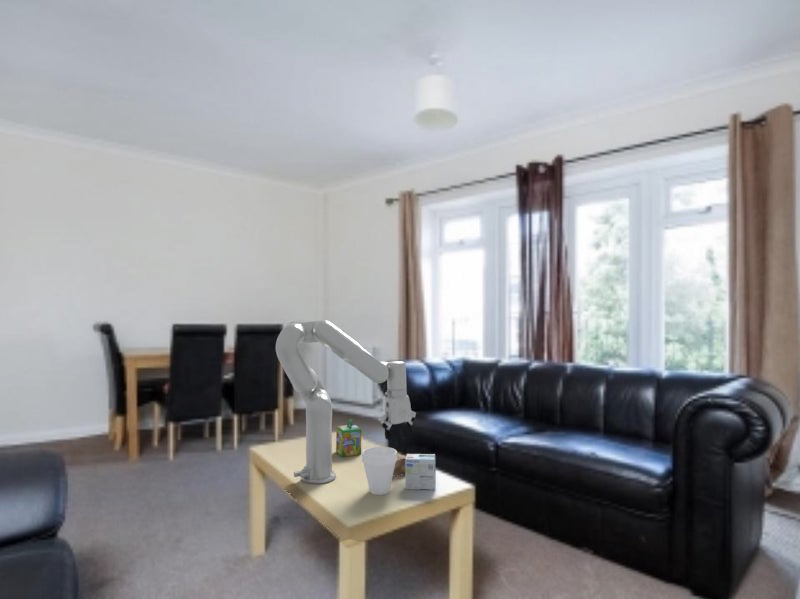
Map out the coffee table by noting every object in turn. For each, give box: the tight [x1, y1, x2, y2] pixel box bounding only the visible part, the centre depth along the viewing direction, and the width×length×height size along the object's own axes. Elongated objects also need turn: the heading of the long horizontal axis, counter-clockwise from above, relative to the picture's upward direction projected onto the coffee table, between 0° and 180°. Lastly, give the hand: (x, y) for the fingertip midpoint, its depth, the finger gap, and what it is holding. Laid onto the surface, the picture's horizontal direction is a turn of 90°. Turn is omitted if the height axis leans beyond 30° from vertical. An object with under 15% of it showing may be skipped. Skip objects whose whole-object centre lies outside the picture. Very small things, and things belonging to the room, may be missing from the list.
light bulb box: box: [404, 453, 437, 491], centre depth 166 cm, size 11×7×11 cm, turn 84°
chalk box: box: [335, 418, 362, 458], centre depth 207 cm, size 9×9×15 cm
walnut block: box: [393, 453, 406, 477], centre depth 181 cm, size 6×6×6 cm
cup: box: [361, 446, 398, 496], centre depth 162 cm, size 12×12×14 cm
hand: (398, 437), depth 181 cm, fingers open, 9 cm apart
